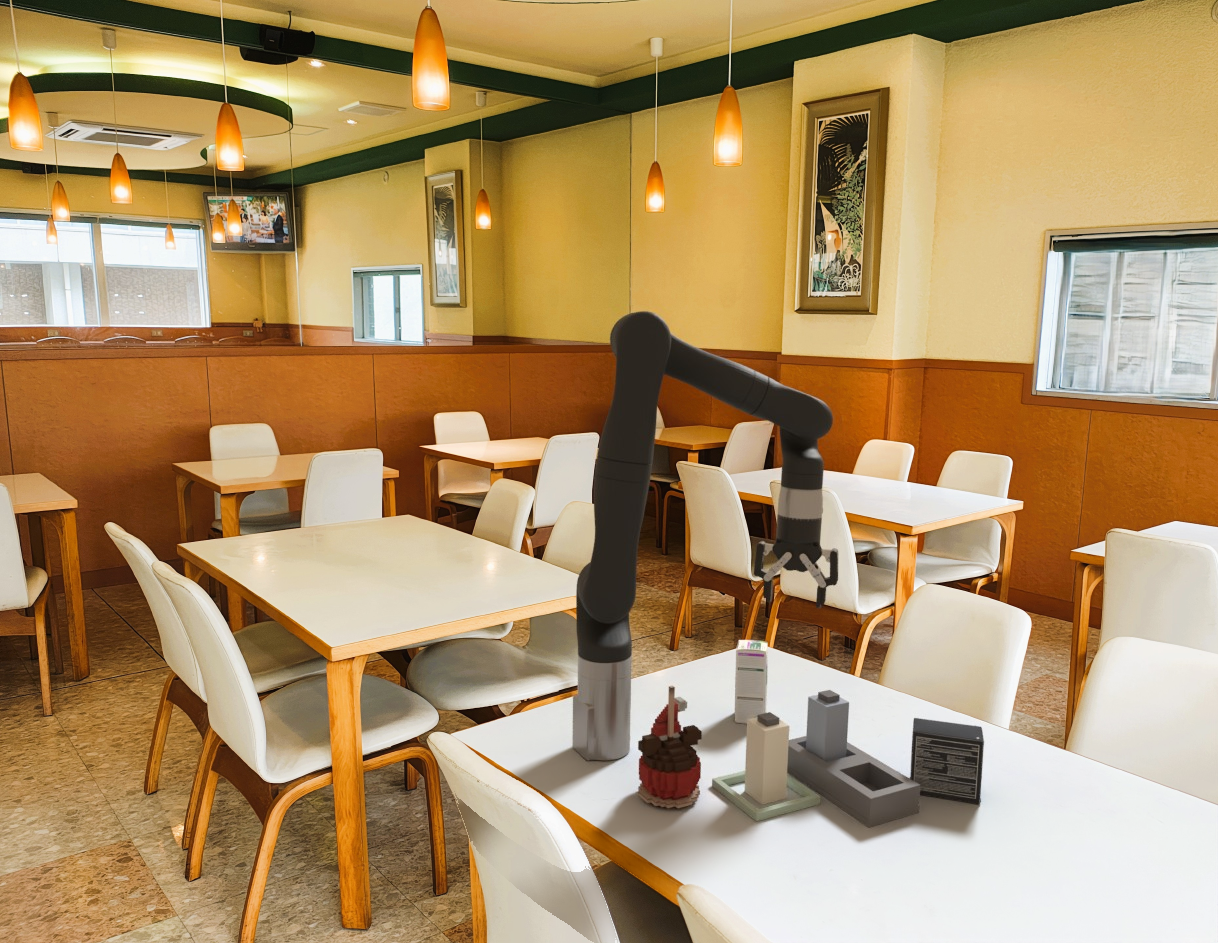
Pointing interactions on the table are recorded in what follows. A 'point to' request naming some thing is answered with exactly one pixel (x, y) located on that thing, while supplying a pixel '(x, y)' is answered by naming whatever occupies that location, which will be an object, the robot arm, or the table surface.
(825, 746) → the blue-grey knobbed block
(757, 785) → the plug
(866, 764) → the outlet strip
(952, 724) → the small box
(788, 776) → the tray frame
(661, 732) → the cake
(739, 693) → the syrup box
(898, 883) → the table surface
